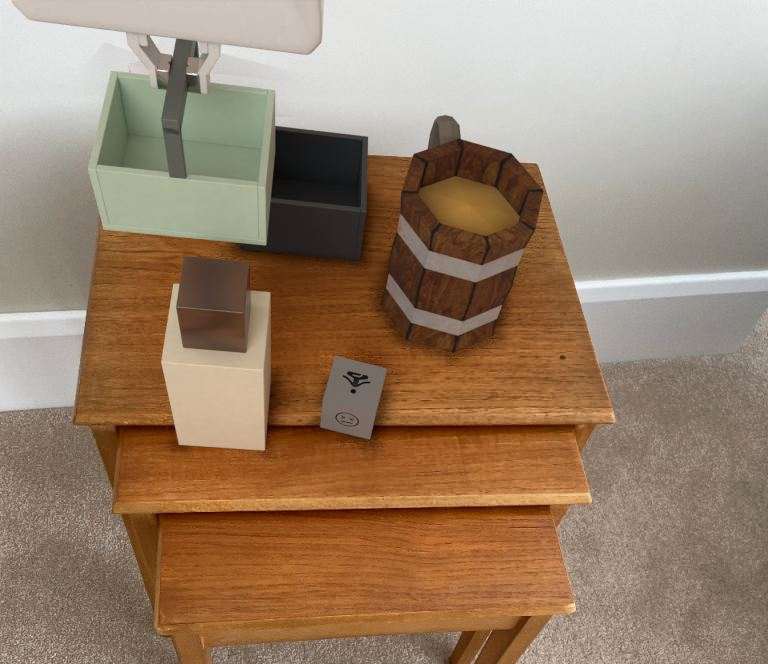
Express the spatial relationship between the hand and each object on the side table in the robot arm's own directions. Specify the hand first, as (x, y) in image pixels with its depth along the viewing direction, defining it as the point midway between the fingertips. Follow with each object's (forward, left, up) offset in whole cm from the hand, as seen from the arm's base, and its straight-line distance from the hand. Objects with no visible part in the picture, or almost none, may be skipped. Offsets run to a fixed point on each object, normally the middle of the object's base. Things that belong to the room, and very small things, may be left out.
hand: (181, 86), depth 57 cm
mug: (+24, +7, -25) cm, 36 cm away
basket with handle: (0, 0, -10) cm, 10 cm away
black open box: (+9, +14, -25) cm, 30 cm away
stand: (+3, -12, -25) cm, 28 cm away
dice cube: (+15, -11, -25) cm, 31 cm away
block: (+3, -12, -12) cm, 17 cm away
